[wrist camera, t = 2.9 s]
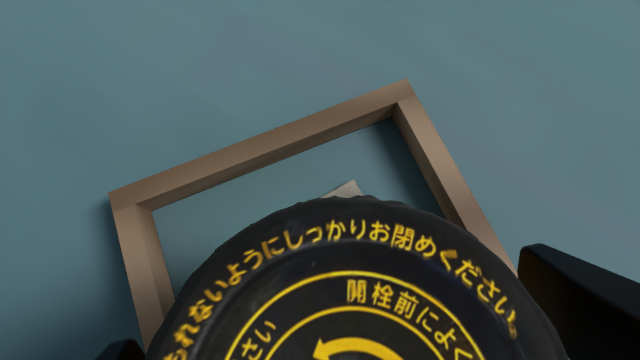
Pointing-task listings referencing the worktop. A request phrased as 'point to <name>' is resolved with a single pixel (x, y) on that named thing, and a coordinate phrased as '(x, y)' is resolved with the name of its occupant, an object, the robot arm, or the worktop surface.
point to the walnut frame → (268, 148)
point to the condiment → (354, 291)
